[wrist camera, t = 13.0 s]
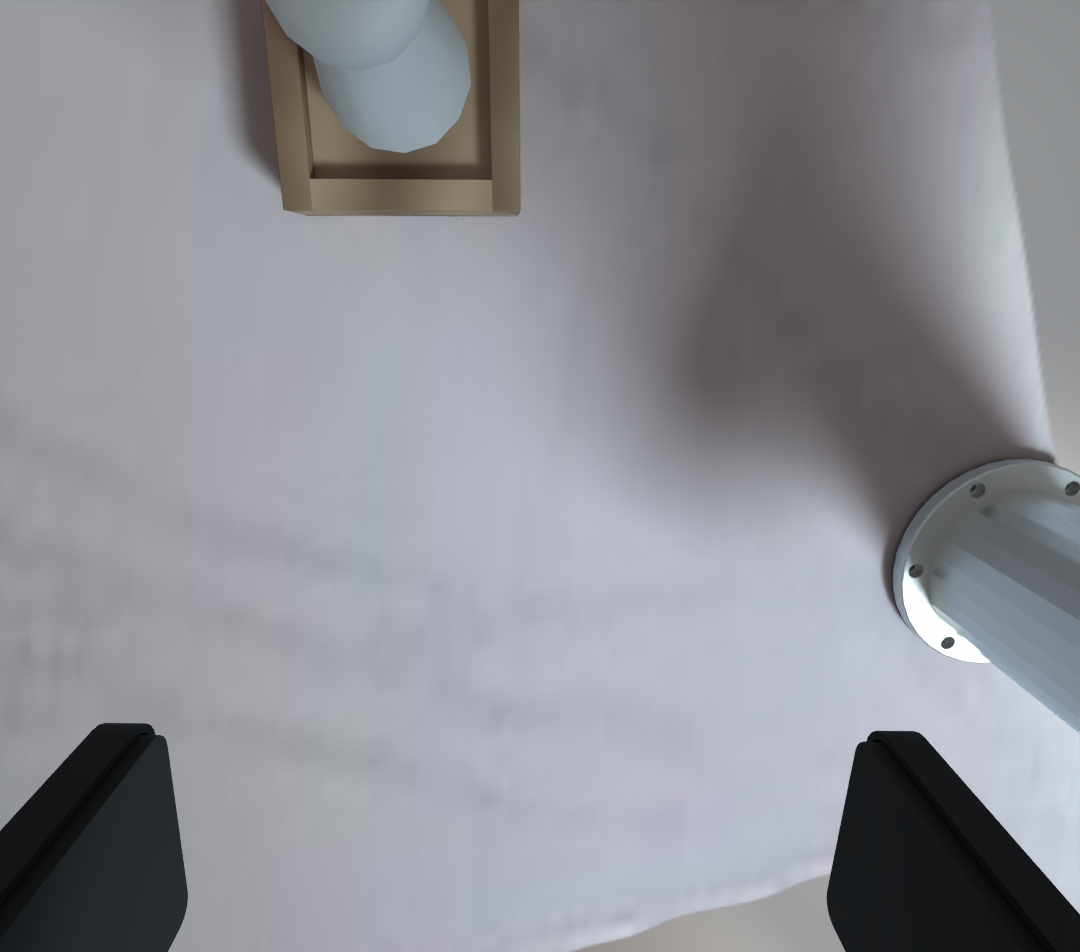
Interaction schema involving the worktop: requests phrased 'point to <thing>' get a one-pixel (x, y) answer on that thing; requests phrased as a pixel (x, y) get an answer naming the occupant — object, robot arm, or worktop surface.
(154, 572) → the worktop surface
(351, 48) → the salt shaker
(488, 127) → the wooden crate
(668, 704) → the worktop surface
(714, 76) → the worktop surface
